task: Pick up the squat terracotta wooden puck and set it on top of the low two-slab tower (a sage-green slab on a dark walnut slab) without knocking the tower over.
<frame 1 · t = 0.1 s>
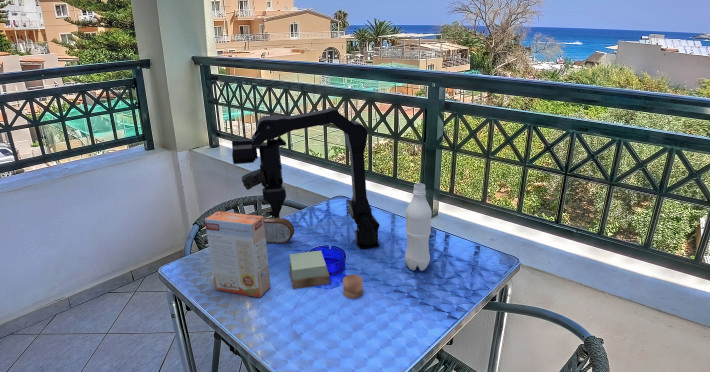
hand: (275, 211, 125), 15 cm above the table, tool pointing down, fingers open, 9 cm apart
cracker box: (243, 289, 112), on the table
tin: (272, 242, 138), on the table
puck: (353, 293, 109), on the table
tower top: (307, 269, 116), point 2 cm above the table, touching tower base
water bottle: (417, 267, 121), on the table
tower base: (309, 278, 117), on the table, touching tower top
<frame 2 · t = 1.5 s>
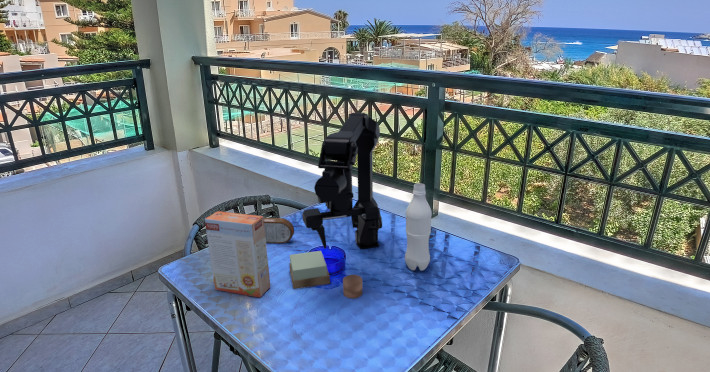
hand: (342, 245, 107), 13 cm above the table, tool pointing down, fingers open, 9 cm apart
nothing on the table moved.
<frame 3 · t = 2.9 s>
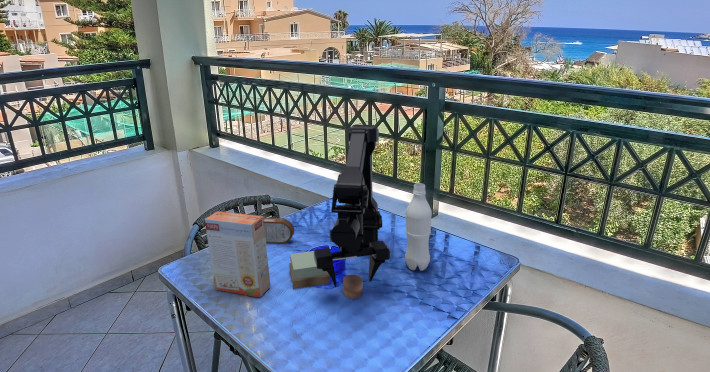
hand: (352, 283, 108), 3 cm above the table, tool pointing down, fingers open, 9 cm apart
nothing on the table moved.
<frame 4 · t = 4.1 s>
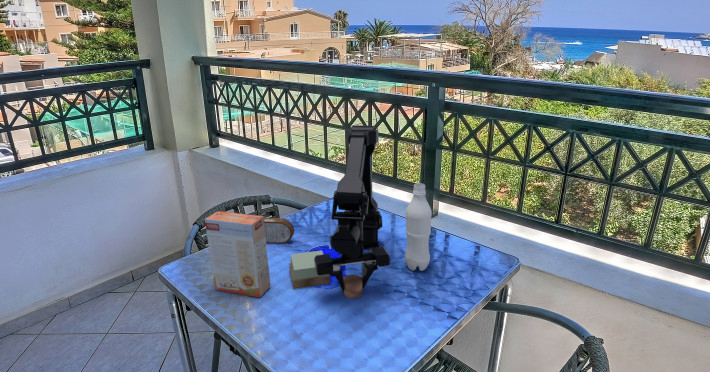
hand: (352, 289, 109), 1 cm above the table, tool pointing down, fingers closed on puck, 5 cm apart
puck: (353, 292, 109), on the table, touching gripper
everything else where it was.
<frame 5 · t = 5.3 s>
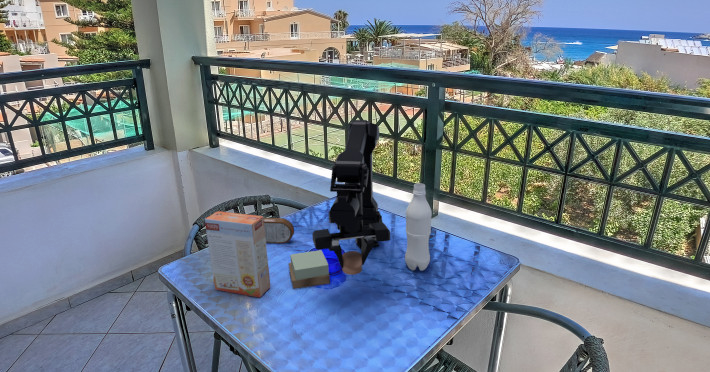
hand: (352, 265, 106), 8 cm above the table, tool pointing down, fingers closed on puck, 5 cm apart
puck: (352, 269, 107), point 7 cm above the table, touching gripper
everything else where it was.
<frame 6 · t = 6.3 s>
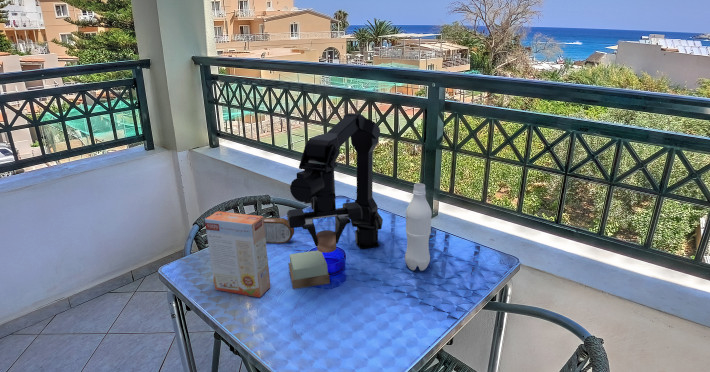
hand: (326, 244, 110), 12 cm above the table, tool pointing down, fingers closed on puck, 5 cm apart
puck: (326, 248, 110), point 11 cm above the table, touching gripper
everything else where it was.
when the fingers open (7 cm above the table, at t = 8.5 s): puck drops 1 cm, point 5 cm above the table.
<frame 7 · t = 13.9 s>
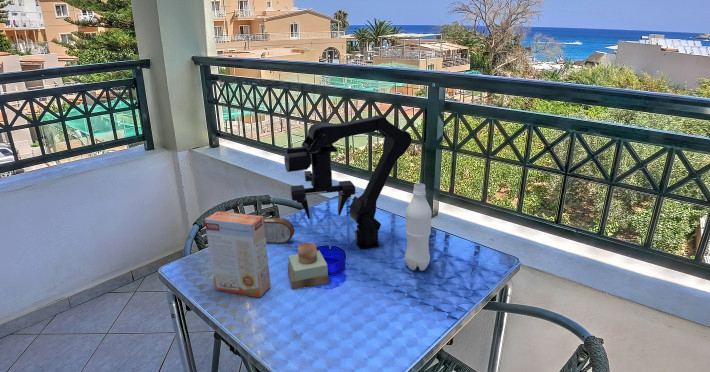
hand: (324, 216, 127), 12 cm above the table, tool pointing down, fingers open, 9 cm apart
puck: (307, 259, 115), point 5 cm above the table
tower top: (307, 269, 116), point 2 cm above the table
tower base: (308, 278, 117), on the table
everything else where it was.
at the end: puck 0.2 cm off-centre on the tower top, point 3.0 cm above the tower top's base; puck tilted 0°; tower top moved 0.7 cm from its start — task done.
